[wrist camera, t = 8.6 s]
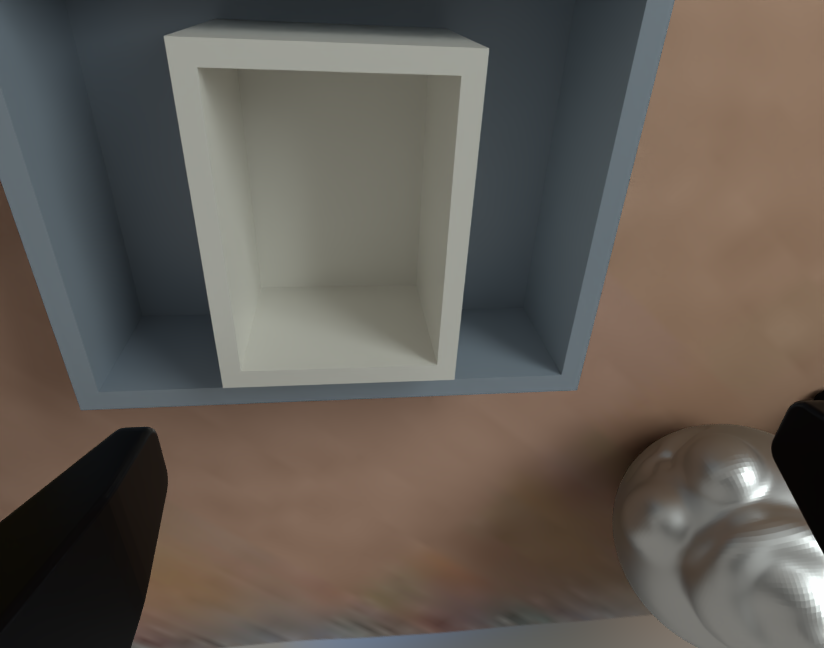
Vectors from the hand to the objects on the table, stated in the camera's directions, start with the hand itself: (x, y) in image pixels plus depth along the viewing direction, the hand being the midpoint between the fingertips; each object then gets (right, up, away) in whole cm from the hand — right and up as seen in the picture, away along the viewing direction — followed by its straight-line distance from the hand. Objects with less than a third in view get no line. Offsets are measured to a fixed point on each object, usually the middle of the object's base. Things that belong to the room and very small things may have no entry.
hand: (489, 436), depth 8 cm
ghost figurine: (+11, -4, +18) cm, 22 cm away
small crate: (-3, +6, +9) cm, 11 cm away
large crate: (-3, +7, +9) cm, 12 cm away
